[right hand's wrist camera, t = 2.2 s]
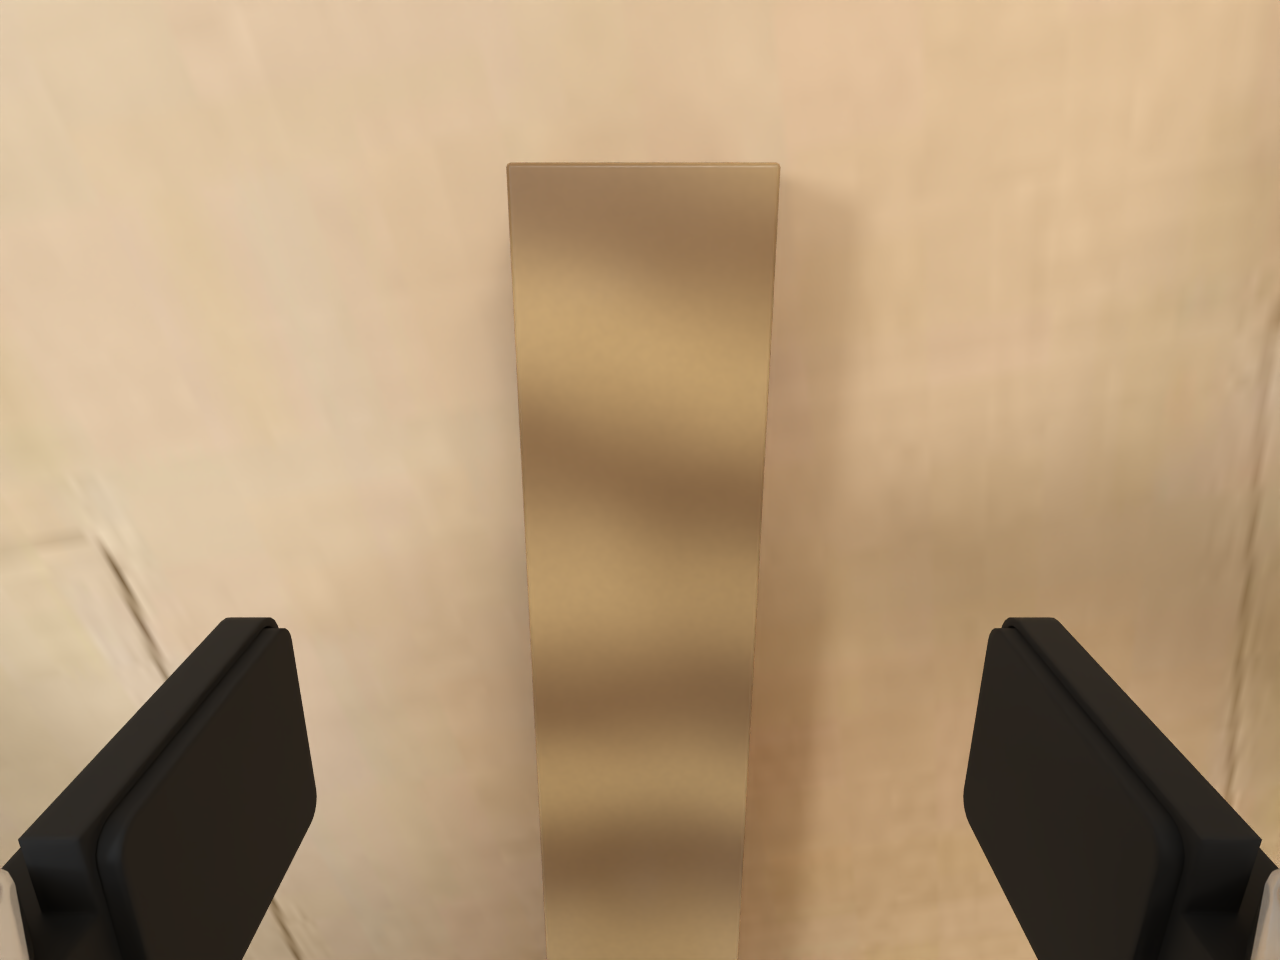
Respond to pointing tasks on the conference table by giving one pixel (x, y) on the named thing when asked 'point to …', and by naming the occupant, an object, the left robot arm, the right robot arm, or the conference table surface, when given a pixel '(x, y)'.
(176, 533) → the conference table surface
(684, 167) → the beam
